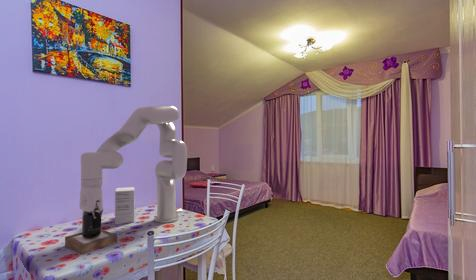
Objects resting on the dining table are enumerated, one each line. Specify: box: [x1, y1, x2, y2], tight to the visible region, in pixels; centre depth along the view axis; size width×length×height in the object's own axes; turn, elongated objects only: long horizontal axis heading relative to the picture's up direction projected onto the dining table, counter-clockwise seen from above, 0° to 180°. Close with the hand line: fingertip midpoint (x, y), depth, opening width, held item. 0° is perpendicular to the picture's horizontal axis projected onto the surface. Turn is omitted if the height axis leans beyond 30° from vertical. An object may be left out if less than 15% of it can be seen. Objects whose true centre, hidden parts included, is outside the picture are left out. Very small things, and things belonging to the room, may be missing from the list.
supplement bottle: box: [81, 209, 102, 238], centre depth 106 cm, size 7×7×12 cm
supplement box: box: [114, 186, 136, 225], centre depth 136 cm, size 10×9×17 cm
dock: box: [64, 228, 118, 256], centre depth 106 cm, size 14×14×4 cm
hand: (91, 225), depth 106 cm, fingers open, 7 cm apart
